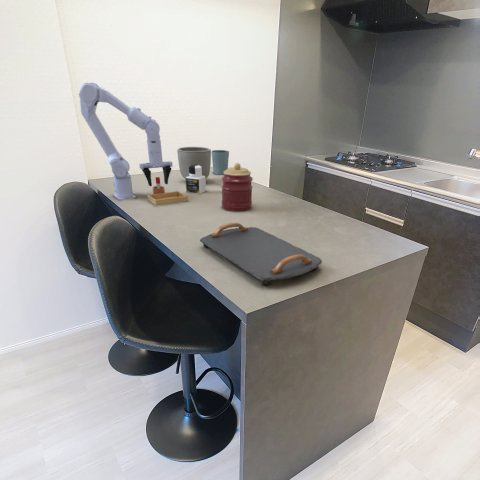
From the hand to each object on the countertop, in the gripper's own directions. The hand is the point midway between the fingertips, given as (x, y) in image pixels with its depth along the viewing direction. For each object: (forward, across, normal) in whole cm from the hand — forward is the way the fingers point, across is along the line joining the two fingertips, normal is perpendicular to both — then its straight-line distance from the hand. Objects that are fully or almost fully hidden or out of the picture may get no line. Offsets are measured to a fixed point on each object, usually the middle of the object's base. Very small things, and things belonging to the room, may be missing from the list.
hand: (158, 184), depth 160 cm
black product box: (+6, +19, 0) cm, 20 cm away
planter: (+6, +28, +19) cm, 34 cm away
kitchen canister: (+6, +23, -31) cm, 39 cm away
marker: (+5, 0, 0) cm, 5 cm away
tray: (+5, 0, -9) cm, 10 cm away
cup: (+5, 0, 0) cm, 5 cm away
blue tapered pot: (+6, +51, +33) cm, 61 cm away
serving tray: (+6, 0, -79) cm, 79 cm away
